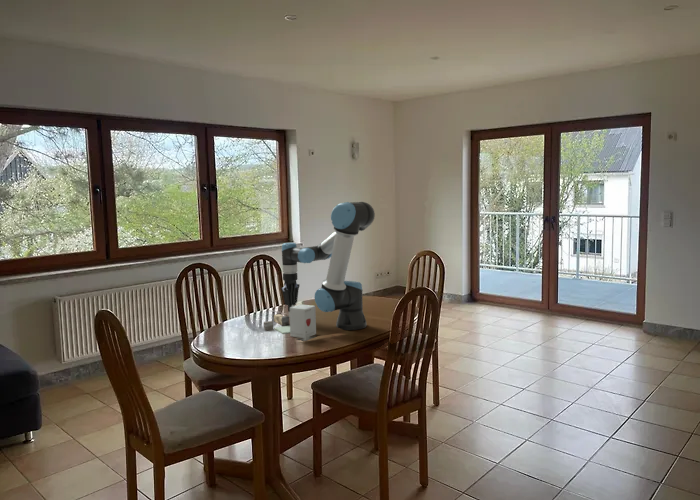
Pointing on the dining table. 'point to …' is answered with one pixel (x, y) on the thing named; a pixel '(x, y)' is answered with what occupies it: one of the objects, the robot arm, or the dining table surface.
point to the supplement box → (303, 322)
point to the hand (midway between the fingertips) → (291, 317)
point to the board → (268, 325)
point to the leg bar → (281, 320)
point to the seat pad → (283, 329)
